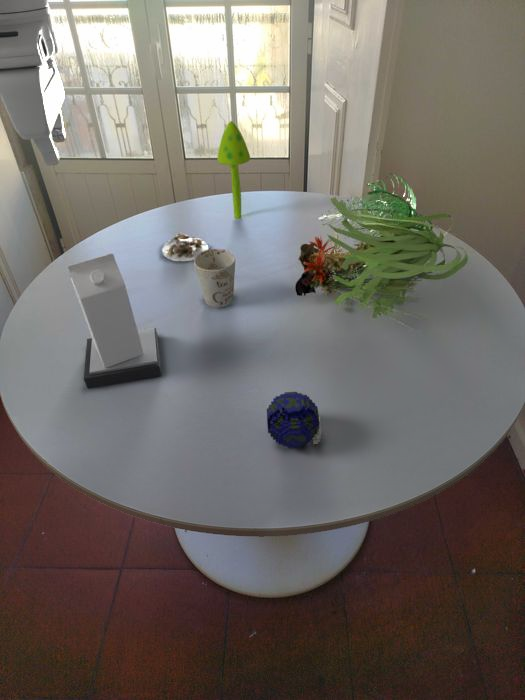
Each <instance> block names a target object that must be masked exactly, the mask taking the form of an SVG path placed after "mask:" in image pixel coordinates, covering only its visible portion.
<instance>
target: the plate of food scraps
mask: <svg viewBox="0 0 525 700" xmlns="http://www.w3.org/2000/svg"><path fill="white" fill-rule="evenodd" d="M207 250H210V248H209V246H208V244H207V242H205V241H204V240H202V239H201V238H199V237H195V236H191V237H190V236H189V235H187V234H184V233H182V232H178V234H176V235H175V234H174V236H173V237H172V238H171V239H169V240H167V241H166V242H165V243H164V245H163V246H162V247H161V253H162V255H163V256H164V257H165V258H167V260H169V261H172V262H177V263H179V262H191V261H194V259H195V257H196V256H197V255H198V254H200V253H202V252H204V251H207Z"/></svg>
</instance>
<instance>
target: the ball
mask: <svg viewBox="0 0 525 700" xmlns="http://www.w3.org/2000/svg"><path fill="white" fill-rule="evenodd" d="M266 423H267V425H266V426H267V433H268V434H270V438H272V440H273V441H275V443H277V445H282V446H283V447H287V448H289V449H291V448H292V449H293V448H301V447H302V446H306V444H308V443H310V442H312V444H313V445H319V443H320V442H321V439H322V435H321V433H322V424H321V416H320V414H319V408H318V405H316V403H315V402H313V399H310V396H308V394H303V393H301V392H299V393H298V391H287V392H286V391H285V392H284V393H281V394H279V395H276V396H275V397H273V399H272V401H270V404H268V408H266Z"/></svg>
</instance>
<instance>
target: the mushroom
mask: <svg viewBox="0 0 525 700" xmlns="http://www.w3.org/2000/svg"><path fill="white" fill-rule="evenodd" d="M216 159H217V162H218V163H219V164H221V165H225V166H230V175H231V189H232V191H231V192H232V203H233V204H232V205H233V215H234V219H236V220H237V219H238V220H240V219H241V218H242V190H241V189H242V188H241V181H240V171H239V170H240V169H239V165H244V164H247V163H248V162H249V161H250V160H251V154H250V152H249V149H248V146H247V143H246V141H245V139H244V137H243V134H242V132H241V130H240V128H238V126H237V125H236V123H235V122H233V120H230V121H229V122H228V123H227V125H226V126H225V129H224V131H223V133H222V136H221V139H220V143H219V147H218V152H217V158H216Z"/></svg>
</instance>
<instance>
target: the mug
mask: <svg viewBox="0 0 525 700" xmlns="http://www.w3.org/2000/svg"><path fill="white" fill-rule="evenodd" d="M193 265H194V268H195V272H196V275H197V278H198V282H199V285H200V288H201V292H202V295H203V298H204V302H205V304H206V305H207V306H209V307H211V308H214V309H215V308H216V309H217V308H220V309H221V308H224V307H227V306H229V305H230V304H232V303H233V300H234V291H235V290H234V289H235V274H236V273H235V272H236V257H235V254H234V253H233V252H231V251H229V250H228V249H227V250H226V249H221V248H212V249H209V250H207V251H204V252H202V253H200V254H198V255H197V256H196V257H195V259H194V260H193Z"/></svg>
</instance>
